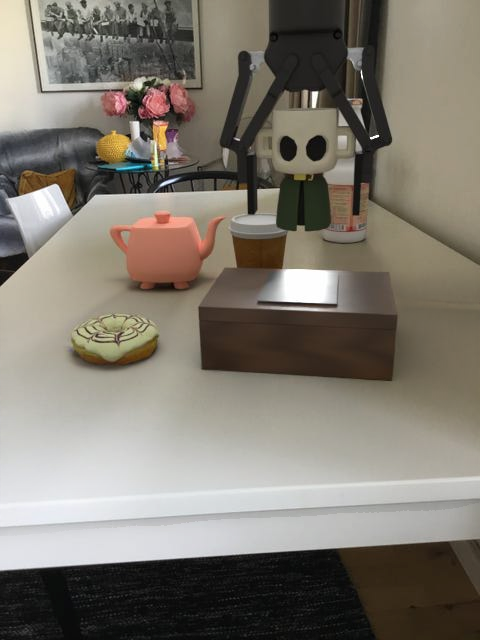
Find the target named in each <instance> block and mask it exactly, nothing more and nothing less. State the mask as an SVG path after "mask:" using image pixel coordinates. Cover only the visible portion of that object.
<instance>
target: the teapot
mask: <svg viewBox="0 0 480 640" xmlns="http://www.w3.org/2000/svg"><path fill="white" fill-rule="evenodd" d="M171 213H172V212H171V211H168V210H160V211H155V212H154V214H153V215H154V216H152V217H151V216H150V217H142V218H140V219H138V220H137V221H136V222H135V223H134V224H133V225H126V224H116V225H113V226H111V227H110V229H109V234H110V236H111V239H112V241H113V242H114V243H115V245H116V246H117V247H118V249H120V251H122V252H123V253H124V254H125V255H126V257H125V265H126V266H125V267H126V271H127V273H128V275H129V277H130V278H131V280H132V281H135V282H142V283H141V284H140V287H139V288H140V289H143V290H149V289H153V288H155V285H156V283H173V286H174V288H175V289H177V290H184V289H188V288H189V287H190V286H189V283H188V282H190V281H194V280H195V279H197V277H198V276H199V275H200V272H201V270H202V267H203V264H204V261H205V260H206V259H208V258H209V257H210V255H212V253H213V251H214V249H215V248H214V247H215V243H216V236H217V235H216V234H217V229H218V226H219V225H220V224H221V222H222V221H223V220H224V219H226V218H228V215H223V216H217V217H214V218H212V219H211V220H210V221H209V223H208V225H207V230H206V236H205V238H204V239H203V241H202V239H201V235H200V232H199V229H198V227H197V225H196V222H195V220H194V218H193V217H189V216H171ZM122 232H129V236H128V241H127V244H126V242H125V240H124V239H123V236H122Z"/></svg>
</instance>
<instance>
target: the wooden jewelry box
mask: <svg viewBox="0 0 480 640" xmlns="http://www.w3.org/2000/svg"><path fill="white" fill-rule="evenodd" d="M197 308H198V309H197V311H198V328H199V345H200V346H199V347H200V363H201V365H200V366H201V370H213V371H227V372H228V371H231V372H245V373H248V372H249V373H262V374H263V373H264V374H265V373H266V374H279V375H296V376H297V375H298V376H312V377H313V376H314V377H327V378H328V377H329V378H343V379H345V378H346V379H361V380H377V381H379V380H380V381H393V376H394V362H395V352H396V341H397V340H396V339H397V330H398V319H399V318H398V317H399V315H398V309H397V304H396V301H395V295H394V290H393V284H392V279H391V276H390V272H389V271H368V270H367V271H366V270H362V271H361V270H327V269H323V270H322V269H292V268H282V269H263V268H237V267H227V266H226V267H224V268H223V269H222V271H221V273H220V274H219V275H218V277H217V278H216V279H215V281H214V283H213V284H212V285H211V287H210V288H209V290H208V291H207V293H206V294H205V296H204V297H203V298H202V300H201V302H200V303H199V304H198V306H197Z"/></svg>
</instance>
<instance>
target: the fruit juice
mask: <svg viewBox="0 0 480 640" xmlns="http://www.w3.org/2000/svg"><path fill="white" fill-rule="evenodd" d="M347 99H348V101H349V102H350V104H351V106H352V107H353V109H354V111H355V113H356V114H357V116H358V118H359V119H360V121H361V123H362V125H363V126H364V128H365V130H366V131H367V129H366V127H365V123H364V119H363V115H362V111H361V110H362V108H363V104H364V103H363V98H347ZM336 107H337V106H336ZM336 109H338V107H337V108H336ZM338 126H349V125H348V124H347V122H346V120H345V119H344V117H343V115H342V114H341V112H340V110H339V124H338ZM346 147H347V136H338V149H346ZM356 151H362V147H361V146H360V144H359V142H358V141H357V139H356ZM354 161H355V155H354V157H352V158H339V159H337V163H336V165H335V168H334V169H332V170H330V171H328V172H324V173H323V177H324V178H325V179H326V181H327V183H328V191H329V200H330V210H331V224H330V226H329V227H328V228H326V229H323V230H321V236H322V238H323V240H325V241H328V242H332V243H339V244H349V243H358V242H362V241H364V240H365V238H366V237H367V230H368V229H367V228H368V211H369V210H368V209H369V196H370V195H369V194H370V183H361V194H360V213H359V216H352V203H353V182H354Z"/></svg>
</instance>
